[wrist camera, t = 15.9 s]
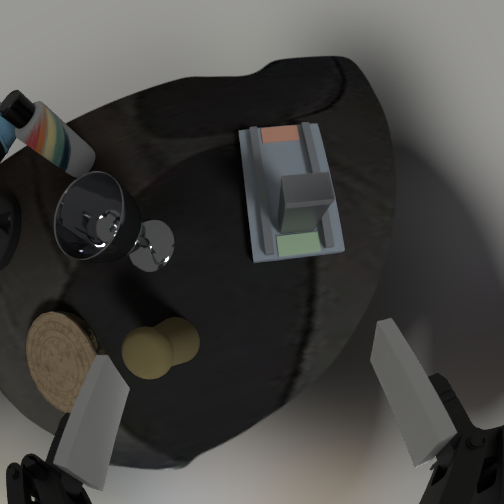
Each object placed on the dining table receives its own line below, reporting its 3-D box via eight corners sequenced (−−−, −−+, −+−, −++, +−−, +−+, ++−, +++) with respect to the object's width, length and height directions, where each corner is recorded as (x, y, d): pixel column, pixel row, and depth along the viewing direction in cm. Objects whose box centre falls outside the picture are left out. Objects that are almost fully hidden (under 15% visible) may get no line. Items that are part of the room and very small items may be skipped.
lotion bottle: (67, 163, 39) (-8, 106, 19) (90, 141, 39) (21, 75, 20) (75, 185, 38) (-9, 129, 18) (100, 162, 38) (23, 93, 19)
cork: (177, 307, 34) (140, 309, 23) (209, 343, 33) (184, 362, 22) (146, 336, 34) (101, 349, 23) (176, 372, 33) (141, 398, 22)
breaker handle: (314, 230, 33) (334, 199, 22) (280, 234, 33) (285, 204, 22) (310, 210, 33) (328, 171, 22) (277, 214, 33) (281, 175, 23)
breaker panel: (341, 252, 34) (347, 248, 31) (254, 263, 35) (252, 260, 32) (315, 129, 37) (318, 118, 34) (239, 136, 38) (237, 125, 35)
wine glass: (157, 286, 35) (91, 277, 20) (114, 255, 36) (42, 232, 21) (189, 233, 36) (139, 192, 21) (143, 206, 37) (84, 159, 22)
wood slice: (87, 297, 35) (75, 296, 32) (127, 400, 33) (117, 407, 30) (28, 326, 35) (16, 327, 32) (60, 414, 32) (49, 418, 30)
